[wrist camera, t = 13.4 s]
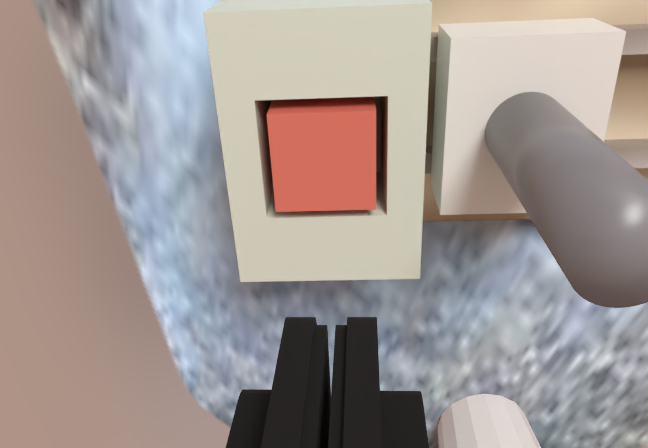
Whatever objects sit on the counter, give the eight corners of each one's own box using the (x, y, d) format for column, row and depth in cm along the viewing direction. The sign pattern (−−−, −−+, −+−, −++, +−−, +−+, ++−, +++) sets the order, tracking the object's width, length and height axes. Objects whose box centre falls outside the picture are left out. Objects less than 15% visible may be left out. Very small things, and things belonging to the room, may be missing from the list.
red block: (371, 165, 24) (376, 209, 20) (286, 167, 24) (275, 212, 20) (371, 79, 22) (376, 111, 18) (279, 82, 22) (266, 114, 19)
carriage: (564, 181, 26) (719, 366, 15) (430, 184, 26) (489, 369, 15) (593, 17, 22) (817, 109, 12) (438, 24, 22) (521, 118, 12)
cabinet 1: (401, 190, 29) (420, 278, 22) (265, 194, 29) (240, 282, 22) (407, -22, 24) (432, 3, 17) (244, -15, 24) (203, 12, 17)
